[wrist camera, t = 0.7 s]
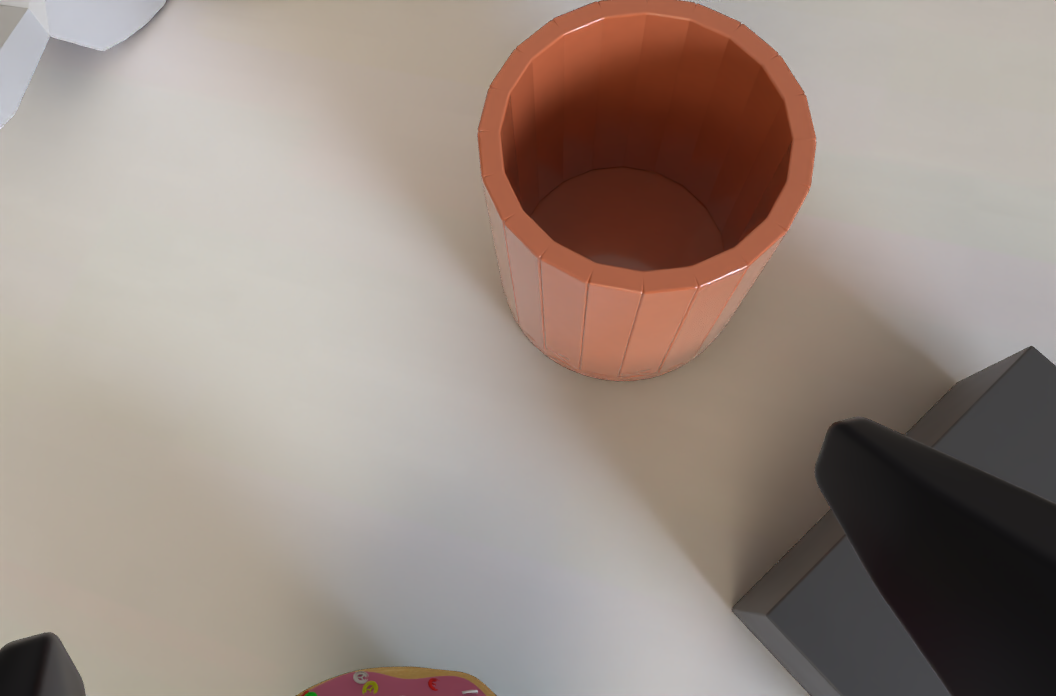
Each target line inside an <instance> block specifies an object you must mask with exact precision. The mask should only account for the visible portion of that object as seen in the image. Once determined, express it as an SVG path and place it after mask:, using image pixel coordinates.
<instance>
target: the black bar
mask: <svg viewBox="0 0 1056 696" xmlns="http://www.w3.org/2000/svg"><path fill="white" fill-rule="evenodd" d="M905 436H907V437H909V438H912V439H914V440H916V441H918V442H921V443H923V444H925V445H927V446H930V447H932V448H934V449H936V450H938V451H941V452H943V453H945V454H947V455H950V456H952V457H954V458H956V459H958V460H961V461H963V462H965V463H967V464H970V465H972V466H974V467H976V468H978V469H981V470H983V471H985V472H987V473H990V474H992V475H994V476H996V477H998V478H1001V479H1003V480H1005V481H1007V482H1010V483H1012V484H1014V485H1016V486H1018V487H1021V488H1023V489H1025V490H1027V491H1030V492H1032V493H1034V494H1036V495H1038V496H1041V497H1043V498H1045V499H1047V500H1050V501H1052V502H1054V503H1056V366H1055V365H1054V364H1053V363H1052V362H1050V361H1049V360H1048V359H1047V358H1046V357H1045V356H1043V355H1042V354H1041V353H1040V352H1039V351H1038V350H1037V349H1035V348H1034V347H1033V346H1030V347H1028V348H1026V349H1024V350H1022V351H1020V352H1018V353H1016V354H1014V355H1012V356H1010V357H1008V358H1006V359H1004V360H1002V361H1000V362H998V363H996V364H994V365H992V366H990V367H988V368H986V369H984V370H982V371H980V372H978V373H976V374H973V375H971V376H969V377H967V378H965V379H963V380H961V381H959V382H957V383H956V384H955V385H954V386H953V387H952V388H951V389H950V390H949V391H948V392H947V393H946V394H945V395H944V396H943V397H942V398H941V399H940V400H939V401H938V402H937V403H936V404H935V405H934V406H933V407H932V408H931V409H930V410H929V411H928V412H927V413H926V414H925V415H924V416H923V417H922V418H921V419H920V420H919V421H918V422H917V423H916V424H915V425H914V426H913V427H912V428H911V429H910V430H909V431H908V432H907V433H906V434H905ZM732 611H733V612H734V614H735V615H736V616H737V617H738V618H739V619H740V620H741V621H742V622H743V623H744V624H745V625H746V626H747V628H748V629H749V630H750V631H751V632H752V633H753V634H754V635H755V636H756V637H757V638H758V639H759V640H760V642H761V643H762V644H763V645H764V646H765V647H766V648H767V649H768V650H769V651H770V652H771V653H772V654H773V656H774V657H775V658H776V659H777V660H778V661H779V662H780V663H781V664H782V665H783V666H784V667H785V668H786V670H787V671H788V672H789V673H790V674H791V675H792V676H793V677H794V678H795V679H796V680H797V681H798V682H799V684H800V685H801V686H802V687H803V688H804V689H805V690H806V691H807V692H808V693H809V694H810V695H811V696H951V695H950V693H949V692H948V691H947V689H946V688H945V686H944V685H943V683H942V682H941V680H940V679H939V678H938V676H937V675H936V673H935V672H934V670H933V669H932V668H931V666H930V665H929V663H928V662H927V660H926V659H925V657H924V656H923V655H922V653H921V652H920V650H919V649H918V647H917V646H916V645H915V643H914V642H913V640H912V639H911V637H910V636H909V635H908V633H907V632H906V630H905V629H904V627H903V626H902V624H901V623H900V622H899V620H898V619H897V617H896V616H895V614H894V613H893V612H892V610H891V609H890V607H889V606H888V604H887V603H886V601H885V600H884V598H883V597H882V595H881V594H880V592H879V591H878V589H877V588H876V586H875V585H874V583H873V582H872V580H871V578H870V577H869V575H868V573H867V572H866V570H865V568H864V566H863V565H862V563H861V561H860V559H859V557H858V556H857V554H856V552H855V550H854V549H853V547H852V545H851V543H850V541H849V540H848V538H847V536H846V534H845V533H844V531H843V529H842V527H841V525H840V524H839V522H838V520H837V518H836V517H835V515H834V513H833V511H832V509H831V510H830V511H829V512H828V513H827V514H826V515H825V516H824V517H823V518H822V519H821V520H820V521H819V522H818V523H817V524H816V525H815V526H814V527H813V528H812V529H811V530H810V531H809V532H808V533H807V534H806V535H805V536H804V537H803V538H802V539H801V540H800V541H799V542H798V543H797V544H796V545H795V546H794V547H793V548H792V549H791V550H790V551H789V552H788V553H787V554H786V555H785V556H784V557H783V558H782V559H781V560H780V561H779V562H778V563H777V564H776V565H775V566H774V567H773V568H772V569H771V570H770V571H769V572H768V573H767V574H766V575H765V576H764V577H763V578H762V579H761V580H760V581H759V582H758V583H757V584H756V585H755V586H754V587H753V588H752V589H751V590H750V591H749V592H748V593H747V594H746V595H745V596H744V597H743V598H742V599H741V600H740V601H739V602H738V603H737V604H736V605H735V606H734V607H733V608H732Z"/></svg>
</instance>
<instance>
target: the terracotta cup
mask: <svg viewBox="0 0 1056 696" xmlns="http://www.w3.org/2000/svg"><path fill="white" fill-rule="evenodd" d="M477 137H478V147H479V158H480V168H481V177H482V182H483V188H484V193H485V198H486V203H487V208H488V214H489V219H490V224H491V229H492V234H493V240H494V245H495V250H496V255H497V261H498V266H499V271H500V276H501V281H502V287H503V290H504V294H505V296H506V298H507V302H508V305H509V307H510V310H511V312H512V314H513V316H514V319H515V320H516V322H517V323H518V325H519V327H520V328H521V330H522V331H523V333H524V334H525V335H526V336H527V337H528V339H529V340H530V341H531V342H532V343H533V344H534V345H535V346H536V347H537V348H538V349H539V350H540V351H541V352H542V353H543V354H545V355H546V356H548V357H549V358H551V359H552V360H553V361H555V362H556V363H558V364H560V365H562V366H564V367H566V368H567V369H569V370H572V371H574V372H577V373H580V374H582V375H585V376H589V377H593V378H597V379H603V380H612V381H635V380H641V379H648V378H652V377H656V376H659V375H663V374H666V373H668V372H670V371H673V370H675V369H677V368H679V367H681V366H683V365H684V364H686V363H688V362H689V361H691V360H693V359H694V358H695V357H696V356H698V355H699V354H700V353H701V352H703V351H704V350H705V349H706V348H707V347H708V346H709V345H710V344H711V343H712V342H713V341H714V340H715V338H716V337H717V336H718V335H719V334H720V333H721V331H722V330H723V329H724V328H725V326H726V324H727V323H728V321H729V320H730V318H731V317H732V315H733V314H734V312H735V311H736V309H737V308H738V306H739V305H740V303H741V302H742V300H743V299H744V297H745V295H746V294H747V292H748V291H749V289H750V288H751V286H752V285H753V283H754V282H755V280H756V279H757V277H758V276H759V274H760V273H761V271H762V270H763V268H764V266H765V265H766V263H767V262H768V260H769V259H770V257H771V256H772V254H773V253H774V251H775V250H776V248H777V247H778V245H779V244H780V242H781V241H782V239H783V237H784V236H785V234H786V233H787V231H788V230H789V228H790V226H791V224H792V222H793V220H794V219H795V217H796V215H797V213H798V211H799V209H800V207H801V205H802V204H803V202H804V200H805V198H806V196H807V194H808V192H809V188H810V187H811V182H812V174H813V166H814V158H815V150H816V136H815V131H814V127H813V123H812V119H811V115H810V110H809V106H808V102H807V98H806V95H804V91H803V90H802V88H801V87H800V85H799V83H798V82H797V80H796V79H795V77H794V76H793V74H792V73H791V71H790V69H789V68H788V66H787V65H786V63H785V62H784V60H783V58H782V57H781V56H780V55H779V54H778V52H777V51H775V50H774V49H773V48H772V47H771V46H769V45H768V44H767V43H766V42H765V41H763V40H762V39H761V38H760V37H759V36H757V35H756V34H755V33H754V32H753V31H751V30H750V29H749V28H748V27H747V26H745V25H744V24H741V22H739V21H737V20H735V19H732V18H730V17H728V16H726V15H723V14H721V13H719V12H716V11H714V10H712V9H710V8H707V7H705V6H703V5H701V4H695V3H694V2H688V1H681V0H602V1H599V2H597V1H595V2H593V3H590V4H588V5H585V6H583V7H581V8H578V9H576V10H573V11H571V12H568V13H566V14H563V15H561V16H558V17H556V18H554V19H553V20H551V21H549V22H548V23H547V24H545V25H544V26H543V27H542V28H540V29H539V30H538V31H536V32H535V33H534V34H533V35H531V36H530V37H529V38H528V39H526V40H525V41H524V42H523V43H521V44H520V45H519V46H517V48H516V49H514V50H513V52H512V53H511V55H510V56H509V58H508V59H507V61H506V62H505V64H504V65H503V67H502V68H501V70H500V71H499V73H498V74H497V76H496V77H495V79H494V80H493V82H492V83H491V85H490V88H489V89H488V92H487V96H486V100H485V103H484V107H483V111H482V115H481V119H480V123H479V126H478V134H477Z"/></svg>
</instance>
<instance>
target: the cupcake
mask: <svg viewBox="0 0 1056 696" xmlns="http://www.w3.org/2000/svg"><path fill="white" fill-rule="evenodd" d="M296 696H496V695H495V694H494V693H493V692H492V691H491V690H490V689H489V688H488V687H487V686H486V685H485V684H484V683H483V682H481V681H480V680H479V679H477V678H476V677H474V676H472V675H469V674H467V673H463V672H457V671H449V670H438V669H430V668H421V667H379V668H369V669H362V670H357V671H353V672H349V673H346V674H342V675H339V676H336V677H333V678H331V679H328V680H326V681H323V682H321V683H319V684H316V685H314V686H312V687H310V688H308V689H306V690H305V691H303V692H301V693H299V694H298V695H296Z"/></svg>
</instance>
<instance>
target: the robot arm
mask: <svg viewBox="0 0 1056 696" xmlns="http://www.w3.org/2000/svg"><path fill="white" fill-rule="evenodd" d="M815 478H816V481H817V484H818V486H819V488H820V490H821V492H822V493H823V495H824V497H825V499H826V501H827V502H828V504H829V506H830V508H831V509H832V511H833V513H834V515H835V517H836V518H837V520H838V522H839V524H840V525H841V527H842V529H843V531H844V533H845V534H846V536H847V538H848V540H849V541H850V543H851V545H852V547H853V549H854V550H855V552H856V554H857V556H858V557H859V559H860V561H861V563H862V565H863V566H864V568H865V570H866V572H867V573H868V575H869V577H870V578H871V580H872V582H873V583H874V585H875V586H876V588H877V589H878V591H879V592H880V594H881V595H882V597H883V598H884V600H885V601H886V603H887V604H888V606H889V607H890V609H891V610H892V612H893V613H894V614H895V616H896V617H897V619H898V620H899V622H900V623H901V624H902V626H903V627H904V629H905V630H906V632H907V633H908V635H909V636H910V637H911V639H912V640H913V642H914V643H915V645H916V646H917V647H918V649H919V650H920V652H921V653H922V655H923V656H924V657H925V659H926V660H927V662H928V663H929V665H930V666H931V668H932V669H933V670H934V672H935V673H936V675H937V676H938V678H939V679H940V680H941V682H942V683H943V685H944V686H945V688H946V689H947V691H948V692H949V693H950V695H951V696H1056V503H1054V502H1052V501H1050V500H1047V499H1045V498H1043V497H1041V496H1038V495H1036V494H1034V493H1032V492H1030V491H1027V490H1025V489H1023V488H1021V487H1018V486H1016V485H1014V484H1012V483H1010V482H1007V481H1005V480H1003V479H1001V478H998V477H996V476H994V475H992V474H990V473H987V472H985V471H983V470H981V469H978V468H976V467H974V466H972V465H970V464H967V463H965V462H963V461H961V460H958V459H956V458H954V457H952V456H950V455H947V454H945V453H943V452H941V451H938V450H936V449H934V448H932V447H930V446H927V445H925V444H923V443H921V442H918V441H916V440H914V439H912V438H909V437H907V436H905V435H903V434H901V433H898V432H896V431H894V430H892V429H889V428H887V427H885V426H883V425H881V424H878V423H876V422H874V421H872V420H869V419H867V418H864V417H853V418H849V419H846V420H842V421H838V422H835V423H833V424H832V425H831V426H830V427H829V429H828V430H827V433H826V436H825V439H824V442H823V444H822V447H821V450H820V453H819V456H818V459H817V461H816V464H815ZM0 696H86V694H85V688H84V684H83V681H82V678H81V676H80V674H79V672H78V670H77V669H76V667H75V665H74V663H73V662H72V660H71V658H70V656H69V654H68V653H67V651H66V649H65V647H64V646H63V644H62V642H61V640H60V639H59V638H58V636H57V635H55V634H54V633H51V632H47V633H42V634H38V635H34V636H31V637H27V638H23V639H19V640H15V641H12V642H10V643H8V644H6V645H5V646H4V647H2V648H1V649H0Z"/></svg>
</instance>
